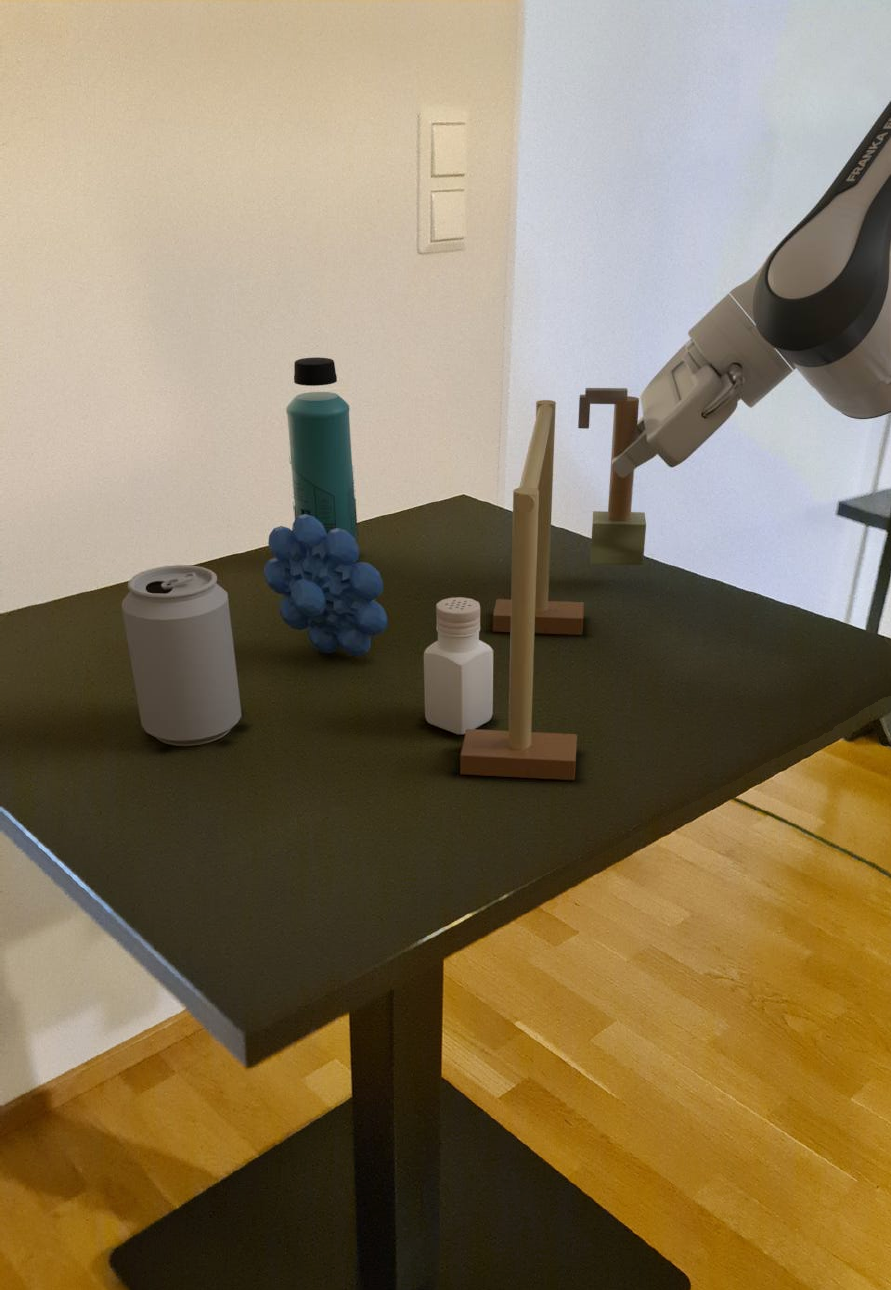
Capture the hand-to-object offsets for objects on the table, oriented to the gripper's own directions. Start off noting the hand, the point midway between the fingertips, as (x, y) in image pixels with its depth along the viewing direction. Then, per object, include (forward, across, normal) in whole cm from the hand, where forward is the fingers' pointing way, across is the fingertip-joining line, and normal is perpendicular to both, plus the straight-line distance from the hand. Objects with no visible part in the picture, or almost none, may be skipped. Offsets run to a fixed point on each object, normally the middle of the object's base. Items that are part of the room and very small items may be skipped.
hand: (615, 466), depth 106 cm
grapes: (+26, -20, +9) cm, 34 cm away
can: (+31, -34, +14) cm, 48 cm away
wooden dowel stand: (+13, -24, -4) cm, 28 cm away
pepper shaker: (+17, -31, 0) cm, 36 cm away
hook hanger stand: (+6, 0, -7) cm, 9 cm away
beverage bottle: (+29, +5, +12) cm, 32 cm away
